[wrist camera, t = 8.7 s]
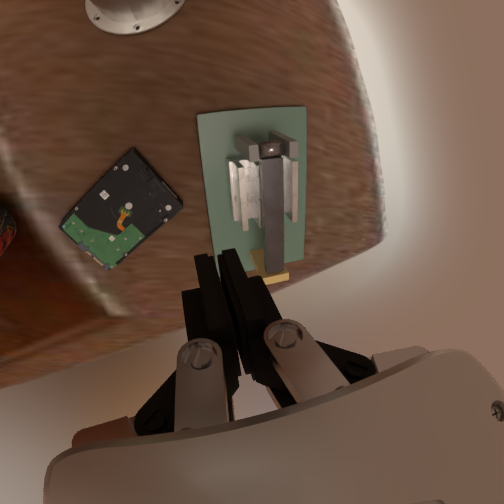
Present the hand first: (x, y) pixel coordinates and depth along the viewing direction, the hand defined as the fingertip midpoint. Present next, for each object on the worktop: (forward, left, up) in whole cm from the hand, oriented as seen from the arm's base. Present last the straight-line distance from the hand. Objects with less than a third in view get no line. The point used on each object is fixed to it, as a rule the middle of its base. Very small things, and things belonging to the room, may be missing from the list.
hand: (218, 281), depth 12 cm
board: (+8, +9, -27) cm, 30 cm away
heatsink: (+6, +9, -26) cm, 28 cm away
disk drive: (+7, -10, -28) cm, 30 cm away
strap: (+8, +9, -21) cm, 24 cm away
